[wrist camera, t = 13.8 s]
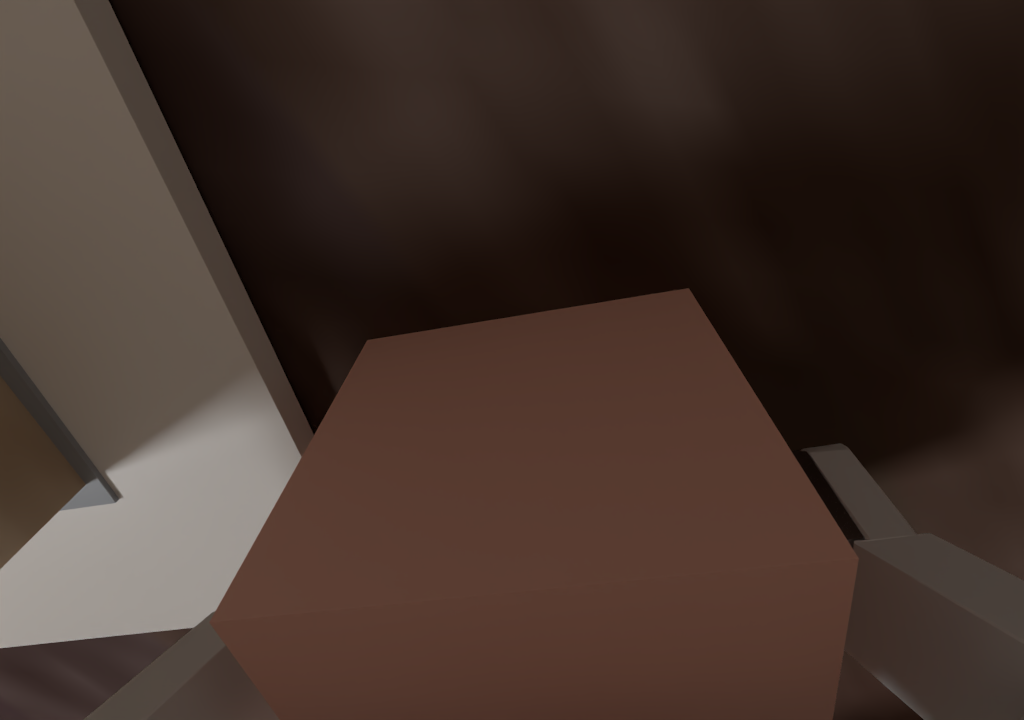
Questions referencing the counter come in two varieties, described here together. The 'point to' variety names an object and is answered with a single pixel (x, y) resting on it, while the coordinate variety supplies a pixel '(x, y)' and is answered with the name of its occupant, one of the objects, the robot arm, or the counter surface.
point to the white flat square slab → (125, 344)
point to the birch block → (28, 476)
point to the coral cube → (547, 535)
